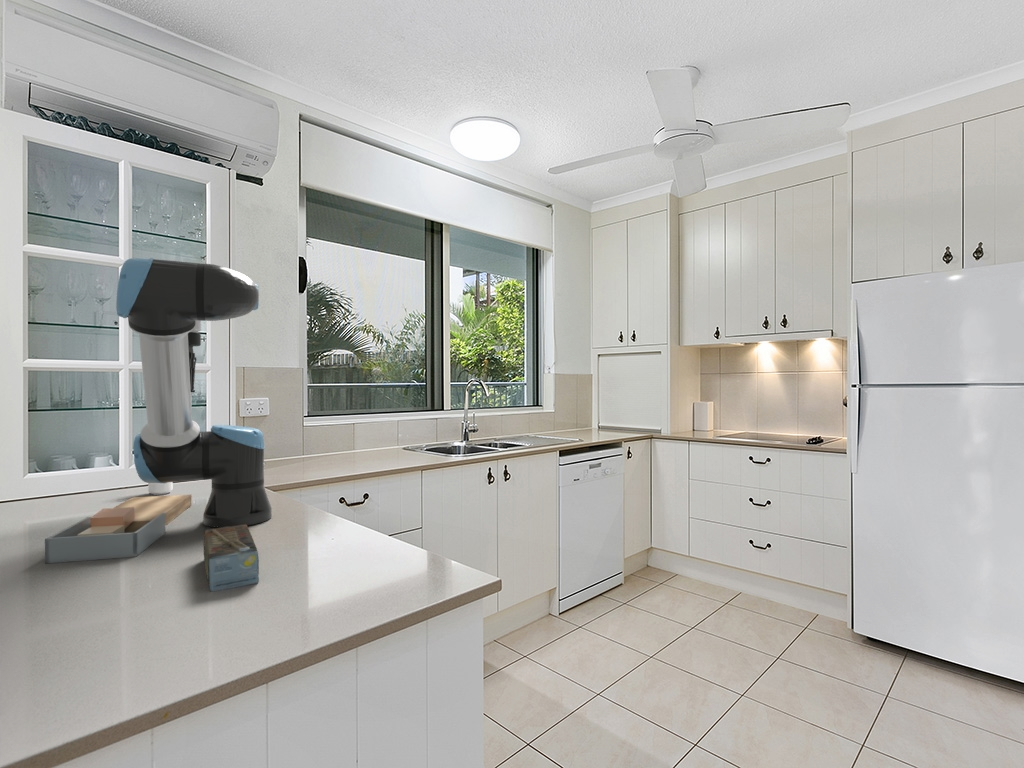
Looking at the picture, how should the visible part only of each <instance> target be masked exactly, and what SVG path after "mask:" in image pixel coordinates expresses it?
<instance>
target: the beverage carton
mask: <svg viewBox="0 0 1024 768" xmlns="http://www.w3.org/2000/svg"><path fill="white" fill-rule="evenodd" d="M203 561H204V568H205V573H206V574H205V575H206V578H207V583H208V586H209V591H210V592H216V591H221V590H226V589H233V588H239V587H244V586H249V585H254V584H255V585H256V584H259V582H260V578H259V574H260V572H259V569H260V568H259V567H260V565H259V563H260V560H259V551H258V548H257V546H256V543H255V541H254V537H253V535H252V533H251V531H250V529H249V527H248V525H246V524H242V525H237V526H226V527H215V528H207V529H205V530H203Z"/></svg>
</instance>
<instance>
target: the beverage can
mask: <svg viewBox="0 0 1024 768" xmlns="http://www.w3.org/2000/svg"><path fill="white" fill-rule="evenodd" d="M147 485H148V488H147V491H148V493H149V494H151V495H153V496H162V495H165V494H166V495H167V494H169V493H170V492H172V491H173V486H174V482H167V483H147Z"/></svg>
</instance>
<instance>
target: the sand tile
mask: <svg viewBox="0 0 1024 768" xmlns="http://www.w3.org/2000/svg"><path fill="white" fill-rule="evenodd" d="M120 533H124V525H112V526H95V527H90V528H88V529H87V530H85V531H83V532H81V533H79V534H78V535H77V536H89V535H104V534H120Z"/></svg>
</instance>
